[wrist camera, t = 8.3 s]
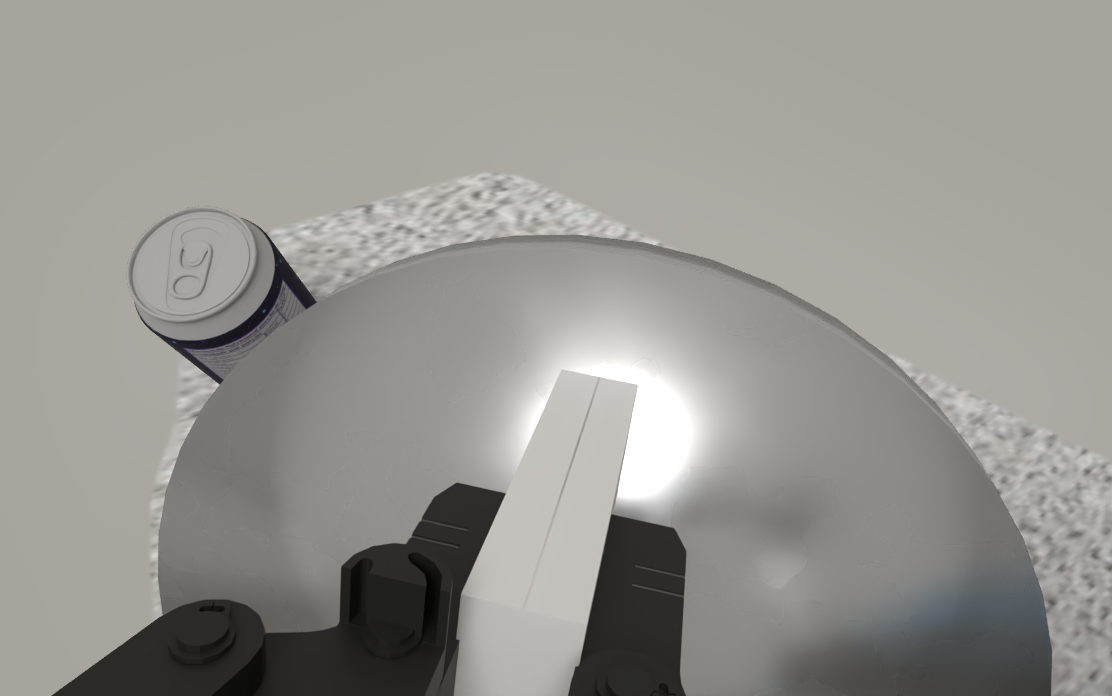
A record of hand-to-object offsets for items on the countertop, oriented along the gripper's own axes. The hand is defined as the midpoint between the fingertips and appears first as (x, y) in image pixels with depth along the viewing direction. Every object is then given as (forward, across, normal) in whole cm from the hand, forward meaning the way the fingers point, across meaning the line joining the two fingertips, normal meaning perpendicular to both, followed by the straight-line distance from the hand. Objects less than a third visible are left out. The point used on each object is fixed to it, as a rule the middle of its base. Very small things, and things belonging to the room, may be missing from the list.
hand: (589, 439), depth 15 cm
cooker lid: (+1, 0, -7) cm, 7 cm away
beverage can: (+21, -17, -12) cm, 29 cm away
